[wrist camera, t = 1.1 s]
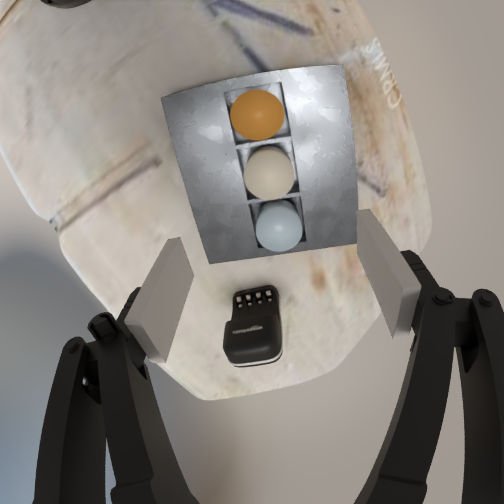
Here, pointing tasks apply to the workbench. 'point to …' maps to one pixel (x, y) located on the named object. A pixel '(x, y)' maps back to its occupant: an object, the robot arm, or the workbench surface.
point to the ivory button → (269, 173)
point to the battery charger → (254, 328)
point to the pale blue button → (278, 225)
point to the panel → (287, 139)
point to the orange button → (257, 115)
